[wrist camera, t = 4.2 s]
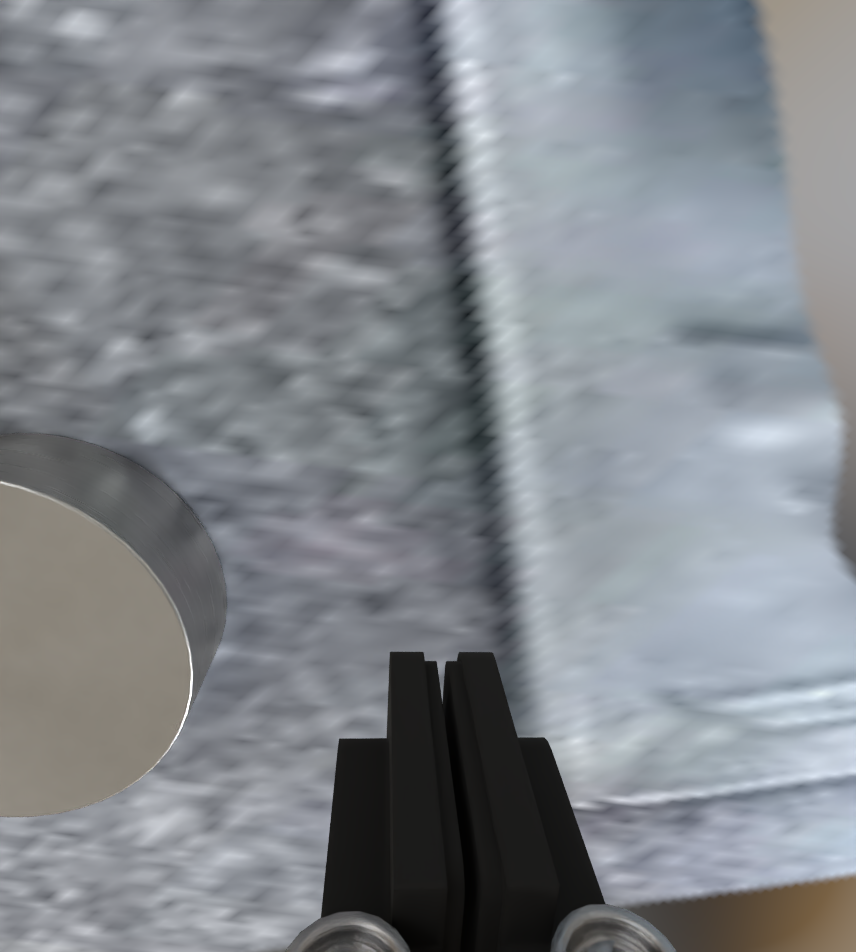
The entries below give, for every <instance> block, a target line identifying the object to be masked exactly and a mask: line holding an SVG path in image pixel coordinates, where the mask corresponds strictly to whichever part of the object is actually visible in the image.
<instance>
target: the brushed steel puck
mask: <svg viewBox="0 0 856 952" xmlns="http://www.w3.org/2000/svg"><path fill="white" fill-rule="evenodd" d="M226 610H227V597H226V584H225V580H224V575H223V571H222V567H221V564H220V561H219V558H218V556H217V553H216V550H215V548H214V546H213V544H212V542H211V540H210V538H209V536H208V534H207V533H206V531H205V529H204V527H203V526H202V524H201V523H200V522H199V520H198V519H197V517H196V516H195V515H194V513H193V512H192V511H191V509H190V508H189V507H188V506H187V505H186V504H185V503H184V502H183V501H182V500H181V498H180V497H179V496H178V495H177V494H176V493H175V492H174V491H172V490H171V489H170V488H169V487H168V486H167V485H165V484H164V483H163V482H162V481H161V480H160V479H158V478H157V477H156V476H154V475H153V474H151V473H150V472H148V471H147V470H145V469H144V468H142V467H141V466H139V465H138V464H136V463H134V462H132V461H130V460H128V459H126V458H124V457H122V456H121V455H119V454H117V453H114V452H112V451H109V450H107V449H104V448H102V447H99V446H96V445H94V444H91V443H87V442H83V441H79V440H75V439H72V438H68V437H61V436H54V435H47V434H33V433H13V434H3V435H0V817H34V816H43V815H51V814H58V813H63V812H67V811H71V810H76V809H80V808H83V807H86V806H89V805H92V804H95V803H97V802H100V801H103V800H105V799H107V798H109V797H111V796H113V795H115V794H117V793H119V792H121V791H123V790H124V789H126V788H127V787H129V786H130V785H132V784H133V783H135V782H136V781H138V780H139V779H141V778H142V777H143V776H144V775H145V774H146V773H148V772H149V771H150V770H151V769H152V768H153V767H154V766H156V765H157V764H158V762H159V761H160V760H161V759H162V758H163V757H164V755H165V754H166V753H167V752H168V751H169V750H170V748H171V747H172V745H173V743H174V742H175V740H176V738H177V737H178V735H179V734H180V732H181V730H182V728H183V725H184V723H185V721H186V719H187V716H188V714H189V712H190V710H191V708H192V705H193V703H194V701H195V699H196V696H197V694H198V692H199V690H200V687H201V685H202V683H203V681H204V678H205V676H206V674H207V672H208V670H209V667H210V665H211V663H212V661H213V658H214V656H215V654H216V651H217V649H218V646H219V644H220V642H221V639H222V635H223V631H224V627H225V622H226Z"/></svg>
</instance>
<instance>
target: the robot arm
mask: <svg viewBox="0 0 856 952" xmlns="http://www.w3.org/2000/svg"><path fill="white" fill-rule="evenodd" d="M285 952H676V950H675V949H674V947H673V946H672V945H671V943H670V942H669V941H668V939H667V938H666V937H665V936H664V935H663V934H662V933H661V932H660V931H658V930H657V929H656V928H655V927H654V926H653V925H652V924H651V923H649V922H648V921H647V920H645V919H643V918H641V917H639V916H638V915H636V914H634V913H633V912H631V911H629V910H626V909H623V908H619V907H616V906H612V905H608V904H605V902H604V899H603V896H602V893H601V890H600V887H599V884H598V881H597V879H596V876H595V873H594V870H593V867H592V864H591V861H590V859H589V856H588V853H587V850H586V847H585V844H584V841H583V839H582V836H581V833H580V830H579V827H578V824H577V821H576V819H575V816H574V813H573V810H572V807H571V804H570V801H569V799H568V796H567V793H566V790H565V787H564V784H563V781H562V778H561V776H560V773H559V770H558V767H557V764H556V761H555V758H554V756H553V753H552V750H551V747H550V745H549V743H548V741H547V740H546V739H545V738H517V734H516V731H515V727H514V724H513V720H512V717H511V713H510V710H509V706H508V703H507V699H506V695H505V692H504V688H503V685H502V681H501V678H500V674H499V671H498V667H497V664H496V660H495V657H494V655H493V653H492V652H459V654H458V658H457V661H447V662H446V665H445V676H444V690H443V704H442V698H441V690H440V683H439V675H438V668H437V662H436V661H425V660H424V653H423V652H390V665H389V691H388V717H387V738H377V739H339V744H338V753H337V763H336V773H335V783H334V793H333V803H332V813H331V823H330V833H329V843H328V853H327V863H326V873H325V883H324V893H323V903H322V913H321V918H320V919H318V920H317V921H315V922H314V923H313V924H311V925H310V926H308V927H307V928H305V929H304V930H303V931H301V932H300V933H299V935H298V936H297V937H296V938H295V939H294V941H293V942H292V943H291V944H290V946H289V947H288V948H287V949H286V951H285Z"/></svg>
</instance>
